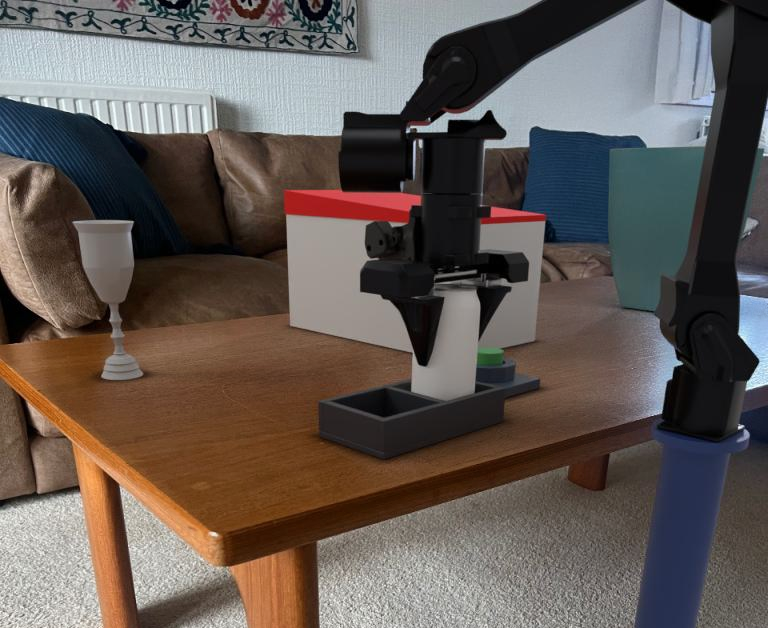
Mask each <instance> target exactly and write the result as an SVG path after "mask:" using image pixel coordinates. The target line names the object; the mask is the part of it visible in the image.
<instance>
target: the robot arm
mask: <svg viewBox="0 0 768 628" xmlns="http://www.w3.org/2000/svg"><path fill="white" fill-rule="evenodd" d="M646 1H647V0H540V1H538V2H536V3H534V4H532V5H530V6H528V7H527V8H525V9H523V10H521V11H520V12H517V13H514V14H510V15H507V16H505V17H500V18H496V19H492V20H488V21H484V22H480V23H476V24H474V25H471V26H468V27H465V28H462V29H459V30H456V31H452V32H450V33H447V34H445V35H443V36H440V37H439V38H438V39H437V40H436V41H434V42H433V43H432V44H431V46H430V47H429V49H428V50H427V53H426V55H425V58H424V61H423V64H422V77H421V78H422V81H421V82H420V83H419V84H418V86H417V88H416V89H415V90H414V92H413V94H412V95H411V96H410V98H409V99H408V100H406V101H405V105H404V107H403V108H402V110H401V111H400V113H365V112H361V111H344V112H343V115H342V116H343V117H342V120H343V121H342V122H343V123H342V124H343V125H342V130H341V136H340V137H341V138H340V149H339V150H338V153H337V154H338V160H337V161H338V177H339V183H340V190H342V192H343V193H403V192H404V183H406V182H411V183H413V182H415V176H416V147H417V146H416V142H417V141H421V176H420V179H421V180H420V196H421V205H411V209H410V211H409V222H408V224H405V225H403V226H394V227H392V226H391V225H390V223H389V222H388V221H374V222H372V223H370V224H368V225H366V230H365V248H366V252H367V255H368V257H369V258H371V259H374V258H378V259H379V260H369V261H366V263H365V264H364V266H363V267H362V268H361V270H360V292H364V293H370V294H377V295H380V296H381V297H382V299H384V300H389V301H390V302H391V303H392V304H393V305H394V306H395V307H396V308H397V309H398V311H399V312H400V314H401V316H402V319H403V321H404V324H405V326H406V329H407V332H408V335H409V338H410V341H411V344H412V348H413V351H414V354H415V357H416V360H417V363H418V365H420V366H424V367H426V366H427V365H428V362H429V360H430V357H431V355H432V352H433V348H434V343H435V339H436V334H437V330H438V326H439V321H440V317H441V313H442V308H443V304H444V299H445V297H440V296H434V285H435V283H443V282H450V281H458V280H460V282H458V283H451V284H460V285H470V286H475V287H477V290H476V293H477V296H478V299H479V301H480V322H479V337H478V342H479V340H480V339H481V337H482V335H483V333H484V331H485V329H486V327H487V325H488V324H489V322H490V320H491V318H492V317H493V315H494V313H495V312H496V310H497V308H498V307H499V305H500V303H501V302H502V300H503V299H504V297H505V295H506V294H507V293H508V292H511V290H512V287H511V286H504V285H501V278H503V279H506V280H507V282H508V283H518V282H525V281H528V274H529V261H528V260H527V258H526V256H525V255H524V253H523V252H514V251H503V250H491V249H487V250H480V231H481V218H491V207H492V205H484V206H482V205H483V190H484V176H485V175H484V173H485V171H484V170H485V157H486V155H485V154H486V153H485V152H486V141H503V140H505V138H506V137H507V135H508V133H507V132H508V131H507V130H506V129H505V128H504V127H503V126H502V125H501V124H500V123H499V122H498V121H497V119H496V117H495V115H494V112H493V110H491V109H488V110H486V112H485V113H484V114H483V116H482V117H480V119H448V120H447V128H446V130H447V131H430V132H429V131H427V132H426V131H425V132H423V131H417V132H416V131H415V132H413V131H411V127H428V126H430V125H431V124H433V123H434V122H435V121H437V120H439V119H440V118H441V117H443V116H444V115H445V114H447V113H448V114H451V115H460V114H463V113H467V112H469V111H470V110H472V109H474V108H476V106H477V105H479V104H480V103H481V102H483V101H484V100H485V99H487V98H488V97H489V96H491V95H492V94H493V93H494V92H495V91H497V90H498V89H499V88H501V87H502V86H503V85H504V84H506V83H507V82H508V81H509V80H511V79H512V78H513V77H514V76H516V75H517V74H518V73H519V72H520V71H521V70H523V69H524V68H525V67H527V66H528V65H530V64H531V62H533V61H535V60H537V59H540V58H541V57H543V56H544V55H547V54H548V53H550V52H553V51H554V50H556V49H558V48H559V47H562V46H563V45H565V44H568V43H569V42H571V41H573V40H575V39H577V38H578V37H581V36H582V35H584V34H587V33H588V32H590V31H591V30H593V29H596V28H597V27H600V26H601V25H603V24H605V23H607V22H609V21H610V20H612V19H614V18H616V17H618V16H620V15H622V14H624V13H625V12H627V11H629V10H632V9H633V8H635V7H636V6H638V5H640V4H642V3H644V2H646ZM665 1H666V2H668V3H669V4H671V5H672V6H674V7H676V8H677V9H679V10H680V11H682V12H683V13H686V14H687V15H688V16H690V17H692V18H694V19H696V20H698V21H701V22H704V23H706V24H708V25H710V56H711V57H710V58H711V67H712V72H713V80H714V96H713V101H712V107H711V112H710V118H709V123H708V129H707V136H706V140H705V151H704V157H703V163H702V168H701V174H700V180H699V185H698V191H697V197H696V202H695V208H694V214H693V219H692V225H691V231H690V236H689V242H688V247H687V252H686V255H685V258H684V260H683V262H682V264H681V266H680V268H679V270H678V272H677V274H676V276H673V275H668V274H662V275H661V281H660V300H659V303H658V306H657V308H656V310H655V311H653V316H655V317H656V318H657V319H658V320H659V330H660V333H661V335H662V337H663V338H664V339H665V340H666V341H667V343H669V344H670V345H671V346H672V347H673V350H674V354H675V358H676V360H677V361H678V362H681V364H680V365H676V366H673V370H672V376H671V378H670V379H668V380H666V385H665V390H664V391H665V392H664V397H663V403H662V410H661V416H660V417H661V418H662V420H665V421H663V422H660V423H658V424H657V429H659V430H664V431H668V432H672V433H676V434H680V435H684V436H688V437H692V438H697V439H701V440H705V441H709V442H713V443H719V442H722V441H724V440H726V439H728V438H730V437H732V436H734V435H736V434H738V433H740V432H742V431H744V429H745V427H746V426H745V425H744V424H740V419H741V415H742V409H743V404H744V399H745V395H746V389H747V384H748V382H749V381H750V380H751V378H752V376H753V375H754V373H755V371H756V370H757V368H758V366H759V364H760V358H759V357H758V355H756V353H754V351H753V350H752V349H751V348H750V346H749V344H747V343H746V341H744V339H743V338H742V337H741V336H740V334H739V332H740V319H741V318H740V317H741V316H740V315H741V291H740V284H739V276H738V270H737V269H738V268H737V254H738V250H739V247H738V245H739V246H740V244H739V240H740V235H741V230H742V225H743V220H744V215H745V210H746V205H747V200H748V195H749V190H750V185H751V180H752V176H753V171H754V166H755V161H756V156H757V151H758V148H759V146H760V141H761V135H762V130H763V125H764V121H765V115H766V110H767V105H768V0H665ZM441 272H442V273H441Z"/></svg>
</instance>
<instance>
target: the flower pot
mask: <svg viewBox="0 0 768 628" xmlns="http://www.w3.org/2000/svg"><path fill="white" fill-rule="evenodd" d="M705 146H706V145H705ZM705 146H703V145H702V146H699V145H698V146H697V145H696V146H663V147H662V146H657V147H655V146H653V147H621V148H611V149H610V150H609V169H608V170H609V171H608V173H609V174H608V175H609V176H608V177H609V178H608V209H607V211H608V212H607V213H608V214H607V215H608V216H607V232H608V233H607V235H608V248H609V249H608V250H609V257H610V263H611V269H612V276H613V281H614V285H615V289H616V293H617V296H618V300H619V304H620V306H621V307H622V308H626V309H634V310H641V311H649V312H654V311H655V310H656V308H657V306H658V303H659V300H660V281H661V275H662V274H668V275H673V276H676V274H677V272H678V270H679V268H680V266H681V264H682V262H683V260H684V258H685V255H686V252H687V247H688V242H689V236H690V231H691V225H692V219H693V214H694V208H695V202H696V197H697V191H698V185H699V180H700V174H701V168H702V163H703V157H704V151H705ZM764 153H765V148H762V147H761V148H760V147H758V151H757V156H756V161H755V166H754V171H753V176H752V180H751V185H750V190H749V195H748V200H747V205H746V210H745V215H744V220H743V225H742V230H741V235H740V240H739V245H738V248H739V246H740V243H741V241H742V238H743V235H744V231H745V229H746V224H747V221H748V217H749V213H750V209H751V204H752V202H753V196H754V193H755V188H756V185H757V180H758V176H759V172H760V168H761V164H762V160H763V156H764Z"/></svg>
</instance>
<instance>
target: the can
mask: <svg viewBox="0 0 768 628" xmlns="http://www.w3.org/2000/svg"><path fill="white" fill-rule="evenodd" d="M476 290H477V287H475V286H470V285H460V284H435V285H434V296H440V297H445V299H444V304H443V308H442V313H441V317H440V321H439V326H438V330H437V334H436V339H435V343H434V348H433V352H432V355H431V357H430V360H429V362H428V365H427V366H426V367H424V366H420V365H418V363H417V360H416V357H415V354H414V351H413V353H412V359H411V360H412V362H411V379H412V385H411V392H414V393H418V394H422V395H425V396H429V397H433V398H436V399H440V400H444V401H449V400H452V399H456V398H460V397H463V396H467V395H471V394H474V392H475V379H476V365H477V351H478V337H479V322H480V301H479V299H478V296H477V293H476Z"/></svg>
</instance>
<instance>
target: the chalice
mask: <svg viewBox="0 0 768 628" xmlns="http://www.w3.org/2000/svg"><path fill="white" fill-rule="evenodd" d="M134 223H135V221H133V220H122V219H121V220H119V219H91V220H77V221H75V220H74V221H72V225H73V226H74V228H75V229H76V231H77V233H78V240H79V247H80V255H81V256H80V257H81V263H82V268H83V270H84V272H85V275H86V277H87V279H88V281H89V283H90V284H91V286H92V288H93V290H94V291H95V293H96V295H97V296H98V298H99V299H100V301H101V302H103V303H105V304H107V305H108V306H109V309H110V317H109V319H108V322H109V323H110V324H111V326H112V327H111V328H112V333H111V334H110V338H111V339H112V340H113V343H114V351H113V352H112V355H109V356H107V358H106V360H105V361H104V363H105V364H104V365H103V368H102V370H103V371H102V373H101V376H100V377H101V378H102V379H104V380H110V381H125V380H133V379H137V378H140V377H142V376H143V375H144V372H143V371H142V370H141V369H140V365H139V363H137V359H136V358H135V357H134V356H133V355H131V354H127V351H125V349H124V347H123V341H124V338H125V337H126V335H125V334H124V333H123V332H122V329H121V325H122V322H123V319H122V318H121V315H120V313H119V304H121V303H123V302H125V300H126V298H127V295H128V291H129V289H130V285H131V283H132V278H133V273H134V269H135V258H134V249H133V239H132V232H131V231H132V228H133V227H134Z"/></svg>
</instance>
